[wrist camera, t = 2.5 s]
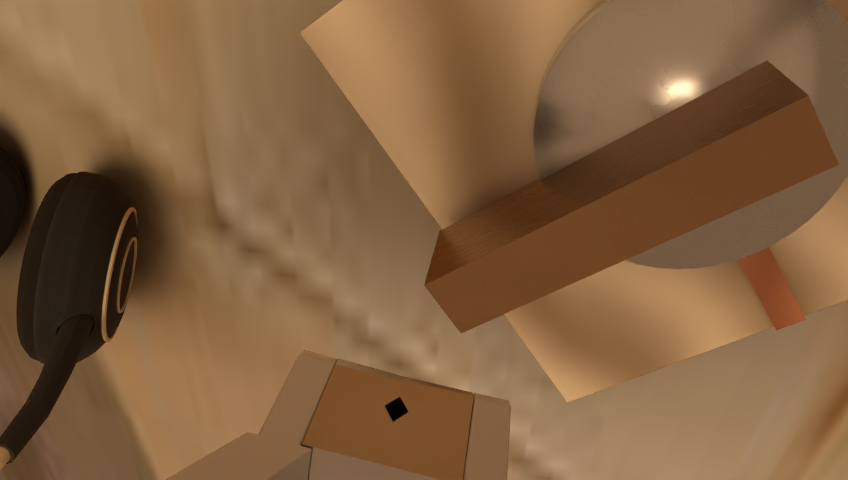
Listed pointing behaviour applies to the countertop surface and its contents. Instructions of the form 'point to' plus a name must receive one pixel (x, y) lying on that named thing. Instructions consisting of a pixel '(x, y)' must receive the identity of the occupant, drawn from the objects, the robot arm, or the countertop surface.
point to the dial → (661, 149)
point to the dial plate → (516, 167)
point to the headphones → (65, 281)
